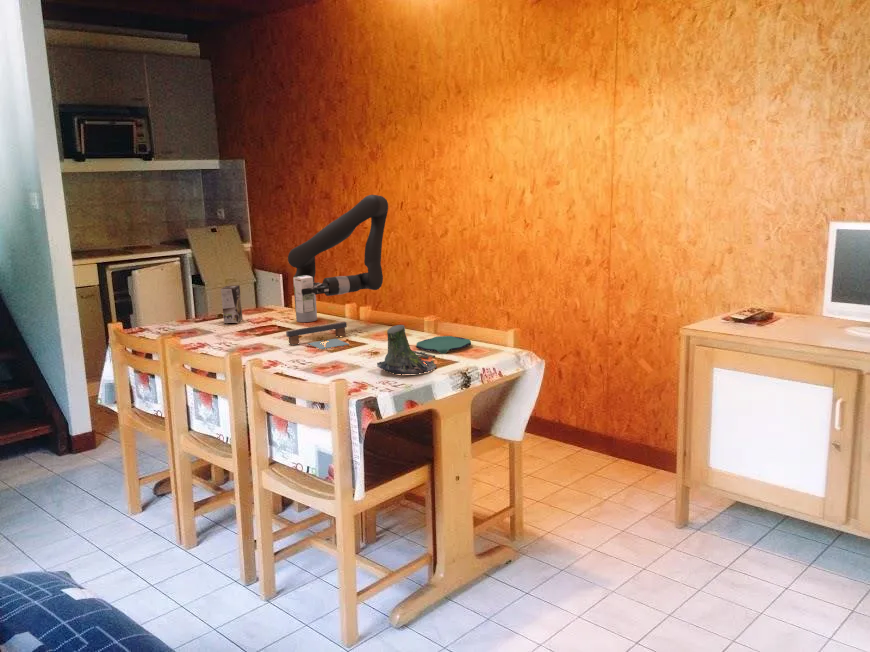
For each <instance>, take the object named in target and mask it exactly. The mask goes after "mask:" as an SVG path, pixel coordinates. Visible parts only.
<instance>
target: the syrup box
mask: <svg viewBox="0 0 870 652" xmlns="http://www.w3.org/2000/svg"><path fill="white" fill-rule="evenodd" d="M292 277H293V278H292V280H293V281H294V283H293V293H294V309H295V310H294V311H295V313H296V312H298V313H309V312H314V311H315V307H314V294H304V295H303V294H302V292H301V290H302V289H306V288H312V287H313V277H311V276H307V275H304V276H298V277H294V276H292ZM293 281H292V282H293Z"/></svg>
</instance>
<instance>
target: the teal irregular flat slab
mask: <svg viewBox="0 0 870 652" xmlns="http://www.w3.org/2000/svg"><path fill="white" fill-rule="evenodd" d="M471 345H472V341H471V339H469V338H464V337H460V336H459V337H458V336H452V335H441V336H434V337H431V338H427V339H424V340H422V341H418V342H417V341H416V345H415V348H416V349H419V350H423V351H429V352H438V353H440V354H441V355H445V354H446V353H448V352H450V351H455V350H461V349H463V348H467V347H469V346H471ZM412 351H413V352H415V354H416V355H417V356H418V357H419V358H420V359H421V360H422V358H423V359H426V360H427V359H429V358H430V357H433V358H436V355H433V354H429V353H426V352H423V351H415V350H412ZM420 354H421V355H420Z"/></svg>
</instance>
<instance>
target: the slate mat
mask: <svg viewBox="0 0 870 652" xmlns="http://www.w3.org/2000/svg"><path fill="white" fill-rule="evenodd" d="M326 340H327V341H329V342H327V343H326V347H324V345H322V343H321V341H322V342H323V341H324V340H319V341H313V342H307V345H308V344H310V345H312V346H314V347H317V348H319V349H325V348H331V347H337V346H342V347H345V346H344V345H348V346H350V343H348V342H346V341H343V340H340V339H338V338H337V337H336V338H330V339H326ZM320 343H321V344H320ZM323 344H324V343H323ZM310 345H309V346H310ZM312 346H311V347H312ZM314 347H313V348H314ZM337 348H338V347H337ZM319 349H318V350H319ZM331 349H332V348H331Z"/></svg>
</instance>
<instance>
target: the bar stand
mask: <svg viewBox="0 0 870 652" xmlns="http://www.w3.org/2000/svg"><path fill="white" fill-rule="evenodd" d="M334 333H335V337H336V336H338V337H337V338H341V337H340V336H345V337H347V336H346V328H340V329H334ZM299 337H300V335H298V336H292V337H288V344H289V343H290V344H298V343H299V344H300V338H299ZM290 344H289V345H290Z"/></svg>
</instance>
